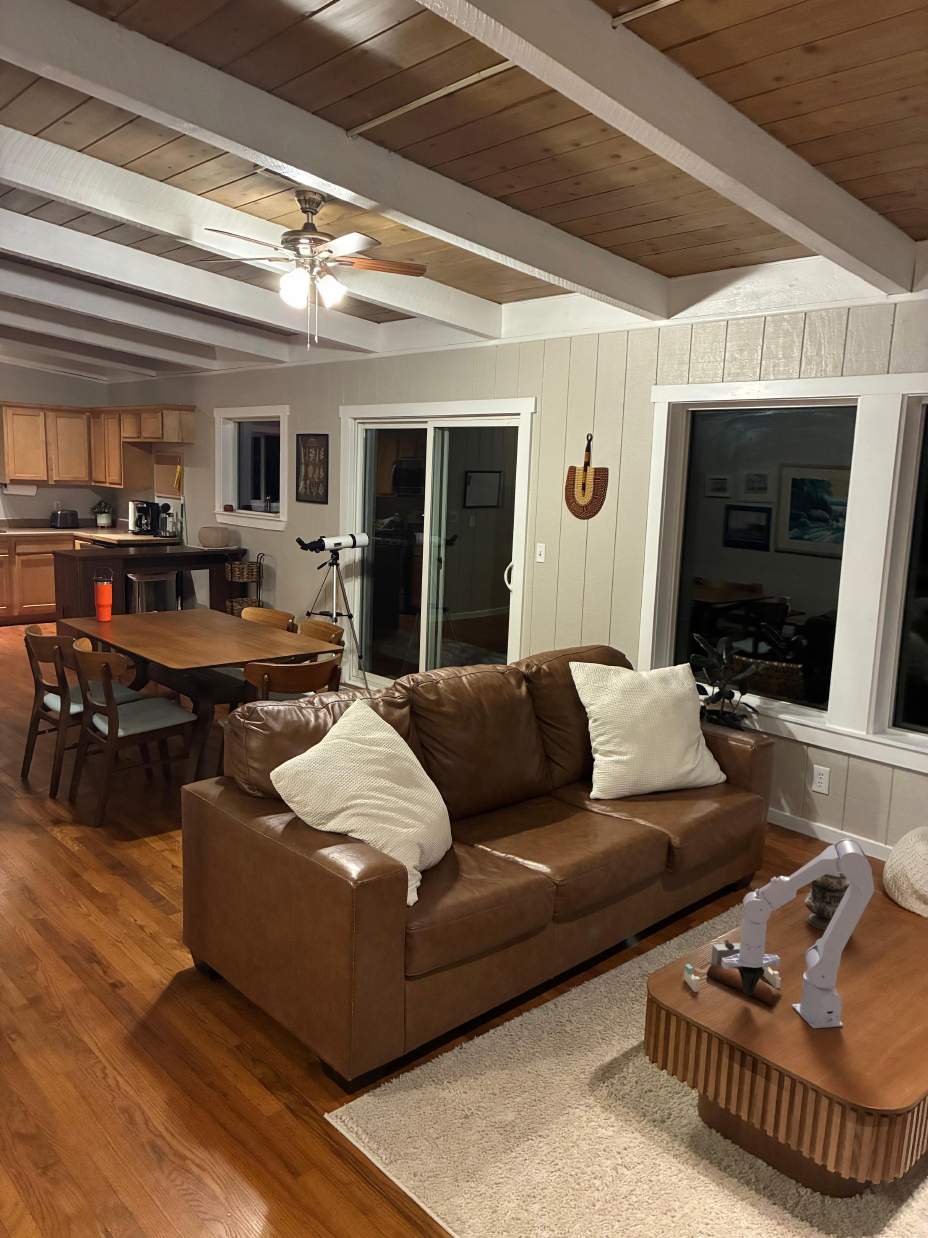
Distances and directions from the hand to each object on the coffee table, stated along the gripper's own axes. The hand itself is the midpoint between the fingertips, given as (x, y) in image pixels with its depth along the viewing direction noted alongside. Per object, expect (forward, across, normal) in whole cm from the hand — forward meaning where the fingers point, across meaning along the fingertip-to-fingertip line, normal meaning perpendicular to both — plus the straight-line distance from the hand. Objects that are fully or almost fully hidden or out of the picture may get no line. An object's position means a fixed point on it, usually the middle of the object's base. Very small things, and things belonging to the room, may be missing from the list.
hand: (747, 993), depth 224 cm
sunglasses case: (+3, -3, -7) cm, 8 cm away
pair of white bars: (+2, 0, -10) cm, 10 cm away
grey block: (+2, -4, -18) cm, 18 cm away
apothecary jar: (+3, -44, -36) cm, 57 cm away
